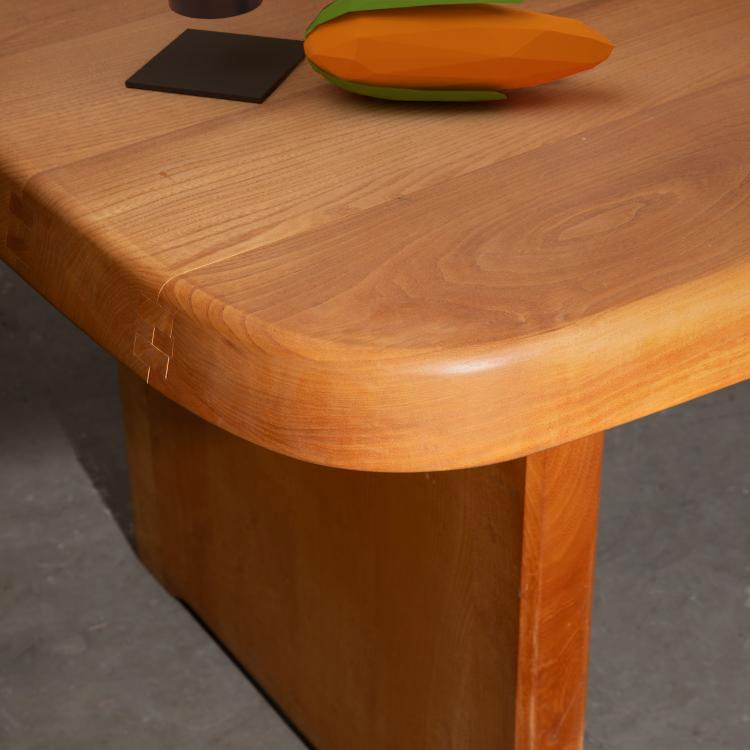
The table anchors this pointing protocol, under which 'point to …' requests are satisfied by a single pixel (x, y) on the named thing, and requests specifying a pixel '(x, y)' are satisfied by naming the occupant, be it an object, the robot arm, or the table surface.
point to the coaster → (220, 65)
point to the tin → (213, 8)
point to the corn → (446, 48)
